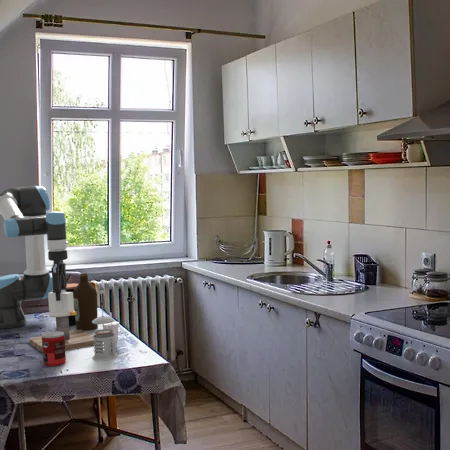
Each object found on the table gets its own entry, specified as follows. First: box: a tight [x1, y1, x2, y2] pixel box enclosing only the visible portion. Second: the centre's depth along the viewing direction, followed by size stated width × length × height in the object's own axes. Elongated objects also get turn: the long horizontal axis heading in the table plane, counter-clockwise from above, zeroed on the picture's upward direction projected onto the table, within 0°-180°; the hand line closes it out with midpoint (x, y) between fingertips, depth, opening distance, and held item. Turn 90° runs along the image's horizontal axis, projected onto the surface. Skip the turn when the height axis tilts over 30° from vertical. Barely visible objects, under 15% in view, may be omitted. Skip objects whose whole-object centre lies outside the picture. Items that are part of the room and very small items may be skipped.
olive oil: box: [73, 272, 99, 332], centre depth 290 cm, size 11×11×25 cm
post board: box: [28, 316, 95, 353], centre depth 265 cm, size 22×22×12 cm
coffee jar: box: [65, 283, 79, 327], centre depth 302 cm, size 11×11×18 cm
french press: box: [91, 290, 119, 362], centre depth 241 cm, size 10×12×25 cm
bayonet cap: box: [47, 292, 76, 318], centre depth 264 cm, size 12×10×9 cm
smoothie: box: [104, 312, 120, 349], centre depth 255 cm, size 6×6×14 cm
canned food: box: [41, 330, 67, 367], centre depth 236 cm, size 8×8×11 cm
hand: (61, 306), depth 264 cm, fingers closed on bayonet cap, 5 cm apart
